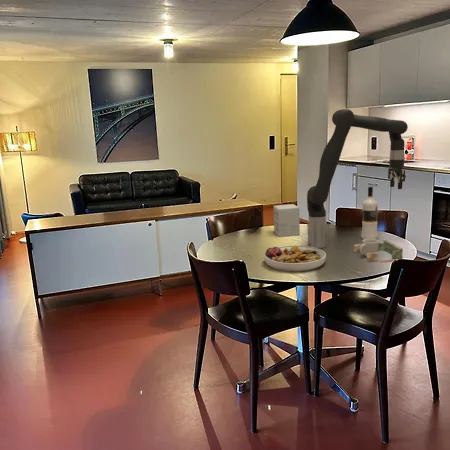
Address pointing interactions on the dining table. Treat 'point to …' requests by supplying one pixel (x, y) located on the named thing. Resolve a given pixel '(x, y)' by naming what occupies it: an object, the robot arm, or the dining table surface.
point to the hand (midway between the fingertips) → (396, 188)
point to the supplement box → (286, 220)
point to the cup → (369, 246)
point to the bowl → (294, 258)
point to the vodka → (369, 217)
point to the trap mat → (386, 260)
